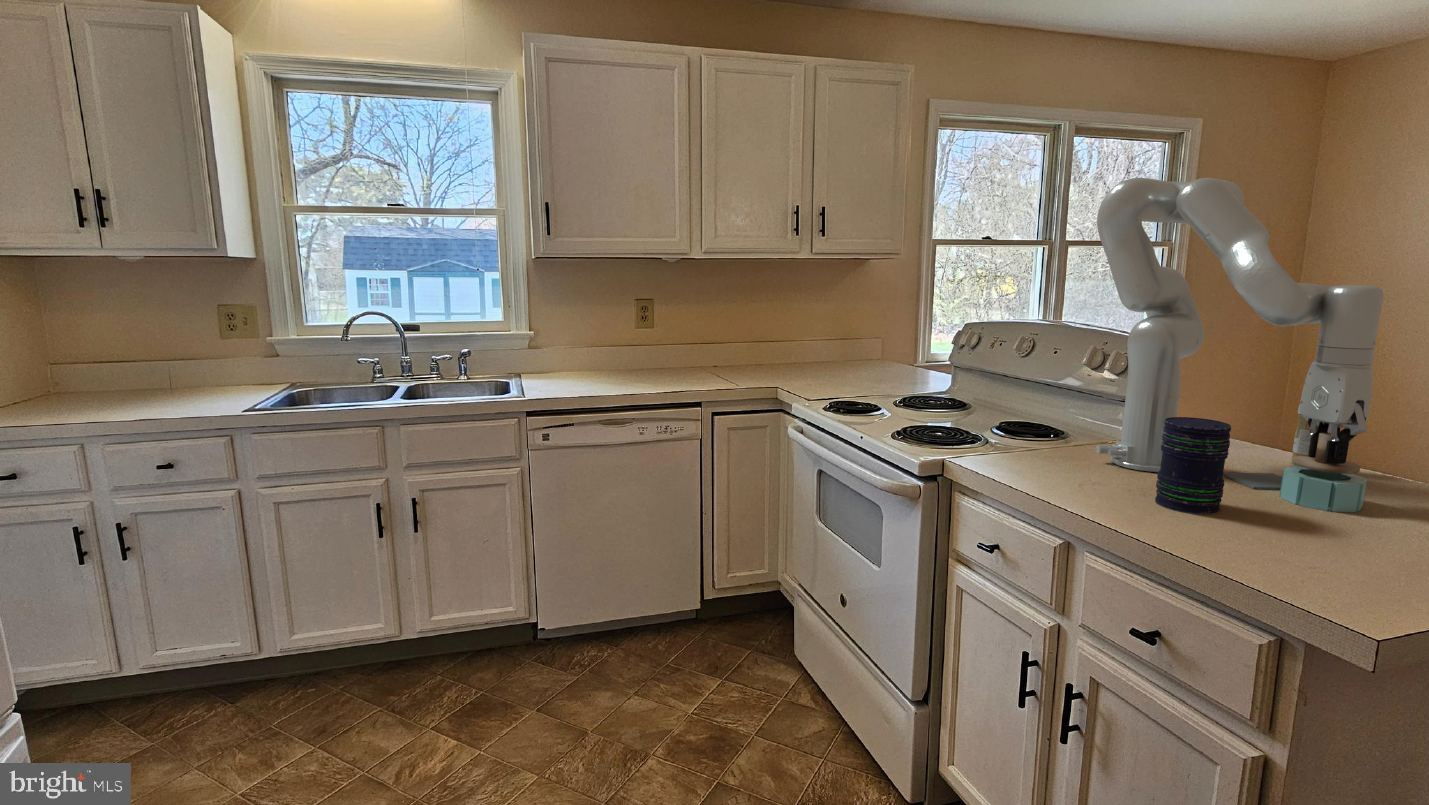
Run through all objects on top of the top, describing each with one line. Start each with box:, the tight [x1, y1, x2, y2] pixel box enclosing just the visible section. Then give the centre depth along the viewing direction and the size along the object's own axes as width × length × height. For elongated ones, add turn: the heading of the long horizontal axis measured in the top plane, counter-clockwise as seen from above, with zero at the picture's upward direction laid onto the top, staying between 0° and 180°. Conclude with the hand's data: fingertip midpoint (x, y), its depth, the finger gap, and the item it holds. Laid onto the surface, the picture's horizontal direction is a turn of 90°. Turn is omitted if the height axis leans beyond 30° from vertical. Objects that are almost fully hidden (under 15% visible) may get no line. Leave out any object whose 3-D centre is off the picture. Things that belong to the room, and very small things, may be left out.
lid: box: [1294, 432, 1361, 475], centre depth 126 cm, size 9×9×6 cm
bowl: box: [1279, 466, 1368, 513], centre depth 128 cm, size 11×11×5 cm
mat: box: [1223, 471, 1282, 491], centre depth 140 cm, size 10×10×1 cm
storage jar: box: [1154, 416, 1232, 515], centre depth 125 cm, size 10×10×15 cm
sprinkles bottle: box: [1289, 404, 1324, 467], centre depth 148 cm, size 5×5×14 cm
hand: (1326, 459), depth 127 cm, fingers closed on lid, 3 cm apart
